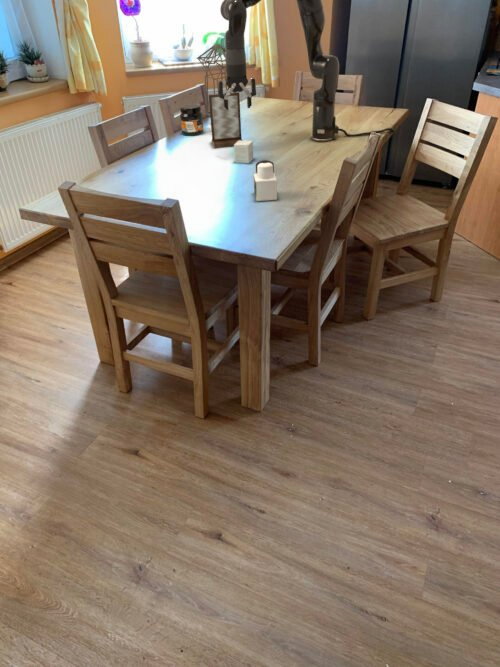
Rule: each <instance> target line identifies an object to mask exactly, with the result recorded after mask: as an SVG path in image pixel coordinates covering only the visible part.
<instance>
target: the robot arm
mask: <svg viewBox="0 0 500 667" xmlns="http://www.w3.org/2000/svg"><path fill="white" fill-rule="evenodd" d="M261 1H262V0H223V1H222V2H221V5H220V8H219V10H220V15H221V17H222V18H223V19H224V20H225V21H227V22H228V29H227V30H226V31H225V34H224V42H225V43H224V44H225V46H224V47H225V48H226V53H225V52H224V54H225V57H224V58H225V59H224V60H225V61H224V62H225V66H226V68H225V70H226V77H227V78H226V81H225V80H223V81H222V80H221V79H218V89H219V97H220V98H222V99H224V107H225V108H226V110H228V99H227V98H228V97H229V95H230V94H231V93H233V92H239V93H242V92H244V93H245V95H246V96H247V97H246V105H247V109H251V107H252V104H253V103H252V98H253V97H254V96H256V95H257V86H256V79H255V78H254V77H251V78H248V77H247V76H248V75H247V54H246V45H245V43H246V42H245V41H246V40H245V32H246V26H247V17H248V14H247V13H248V10H247V9H248V8H251V7H254V6H256V5H258V4H259V3H260V2H261ZM296 5H297V8H298V10H297V11H298V15H299V18H300V23H301V27H302V31H303V36H304V39H305V45H306V51H307V59H308V66H309V71H310V74H311V76H312V77H313V78H314V79H317V80H321V86H320V87H318V88H315V89H314V90H313V94H312V96H313V97H312V99H313V100H312V132H311V140H313V141H315V142H329V141H332V140H335V138H336V137H335V136H336V135H337V134H339V132H342V133H343V134H344V135H345V137H360V136H367V135H371V134H370V133H371V132H376V133H375V134H380V133H384V132H388V131H390V132H392V133H395V130H394V129H393V128H391V127H387V128H384V129H381V130H373V131H368V132H367V131H366V132H359V133H354V134H350V133H348V132H347V130H345V129H343V128H340V127H339V126H338V124H336V115H335V110H336V109H335V108H336V107H335V106H336V93H337V90H338V84H339V75H340V61H339V59H338V57H337V56H335V55H331V54H324V51H323V48H322V35H323V31H324V28H325V25H326V14H325V9H324V4H323V1H322V0H296ZM248 83H249V85H250V87H251V92H250V91H249V90H248V89H247V85H248ZM225 84H226V85H227V90H226V89H225V92H224V87H225V86H226V85H225ZM218 89H217V90H218ZM224 93H225V94H224ZM223 94H224V95H223Z"/></svg>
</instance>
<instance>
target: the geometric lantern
mask: <svg viewBox="0 0 500 667" xmlns="http://www.w3.org/2000/svg"><path fill="white" fill-rule="evenodd" d="M217 51H218V52H217ZM225 53H226V47H225V46H223V45H222V44H220V43H215V44H213V45H212V46H211V47H209V48H208V49H207V50H205V51H204V52H202V53H201V54H200V55H198V56H197V57H196V60H198V62H200V64H201V65H202V67H203V68H204V69H206V71H205V75H204V90H205V92H204V93H205V112H206V114H205V115H206V116H208V118H210V111H209V79H212V84H213V94H216V89H217V94H219V89H218V81H219V80H221V81H226V78H227V76H226V65H225V66H224V63H223V62H225V59H223V58H222V56H224V58H225ZM206 54H207V55H206ZM204 55H205V56H204ZM210 59H211V60H210ZM219 62H221V64H220V63H219ZM211 65H215V66H216V67H217V68H218V70H220V71H219V72H216V73H212V72H211V70H210V66H211ZM223 69H225V70H224V71H223ZM208 73H209V74H208ZM215 75H217V77H216V78H215V77H214V76H215ZM223 75H224V76H223ZM210 76H211V77H210ZM223 79H224V80H223ZM215 80H216V86H215ZM224 86H225V91H226V90H227V89H228V86H227V85H226V84H225V85H224ZM216 87H217V88H216ZM232 93H235V92H232Z"/></svg>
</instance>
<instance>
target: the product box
mask: <svg viewBox="0 0 500 667" xmlns="http://www.w3.org/2000/svg"><path fill="white" fill-rule="evenodd" d="M233 149H234V150H233V152H234V162H235V163H236V164H250V163H251V162H252V161H253V160H254V141H253V140H244V139H242V140H239V141H238V142H236V143H235V144H234V146H233Z"/></svg>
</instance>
